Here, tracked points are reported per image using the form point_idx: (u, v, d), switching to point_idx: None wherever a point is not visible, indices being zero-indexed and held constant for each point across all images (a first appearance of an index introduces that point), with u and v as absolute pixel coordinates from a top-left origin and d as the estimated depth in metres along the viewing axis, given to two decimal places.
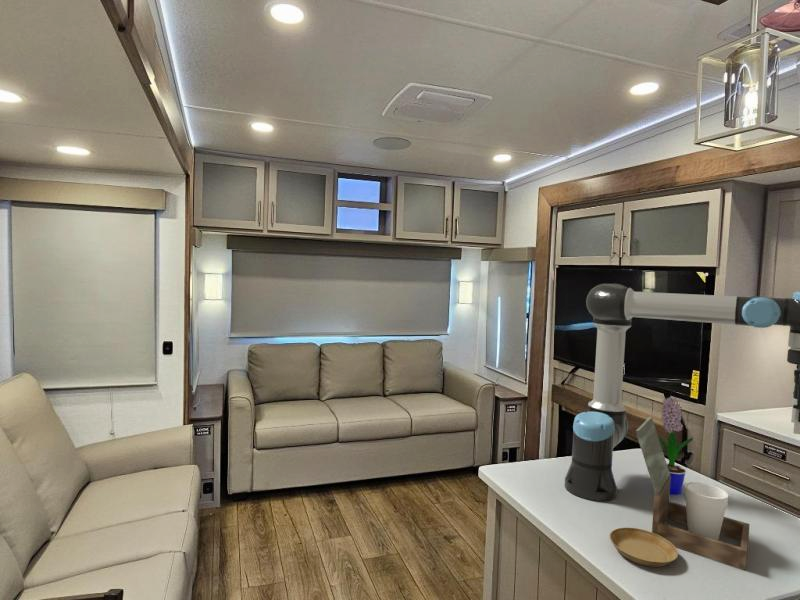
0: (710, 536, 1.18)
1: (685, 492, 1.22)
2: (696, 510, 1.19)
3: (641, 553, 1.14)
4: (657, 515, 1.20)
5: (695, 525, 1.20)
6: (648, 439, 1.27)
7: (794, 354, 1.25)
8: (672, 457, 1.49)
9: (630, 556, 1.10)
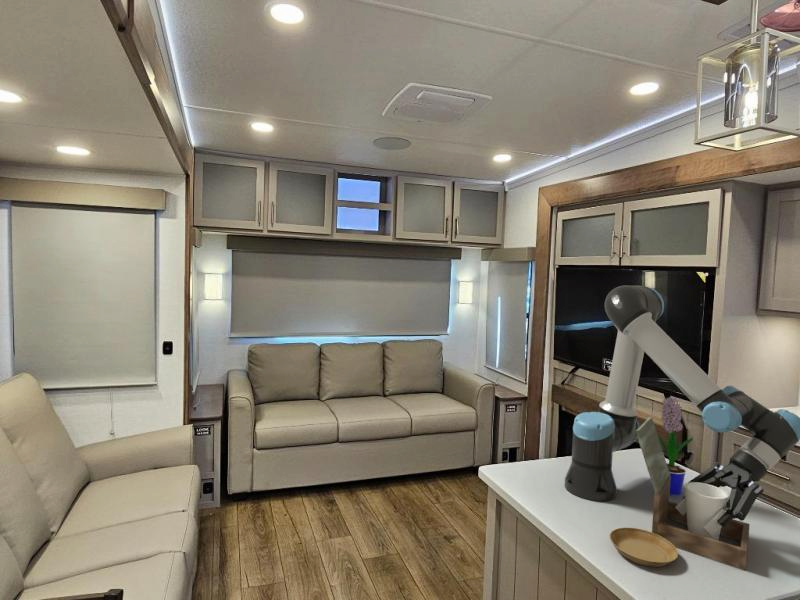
0: (710, 536, 1.18)
1: (685, 492, 1.22)
2: (696, 510, 1.19)
3: (641, 553, 1.14)
4: (657, 515, 1.20)
5: (695, 525, 1.20)
6: (648, 439, 1.27)
7: (754, 461, 1.19)
8: (672, 457, 1.49)
9: (630, 556, 1.10)
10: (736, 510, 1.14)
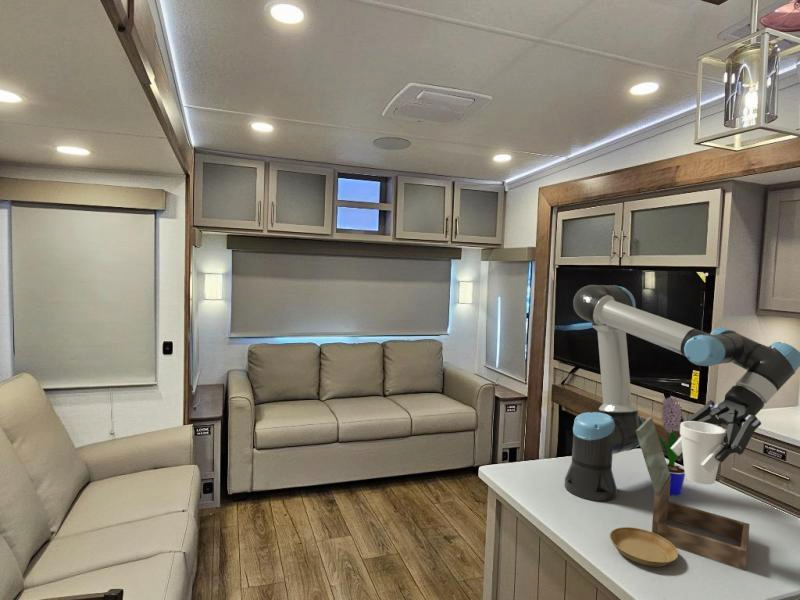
0: (708, 473, 1.14)
1: (681, 430, 1.18)
2: (693, 447, 1.15)
3: (641, 553, 1.14)
4: (657, 515, 1.20)
5: (692, 463, 1.15)
6: (648, 439, 1.27)
7: (750, 395, 1.15)
8: (672, 457, 1.49)
9: (631, 556, 1.10)
10: (734, 444, 1.10)
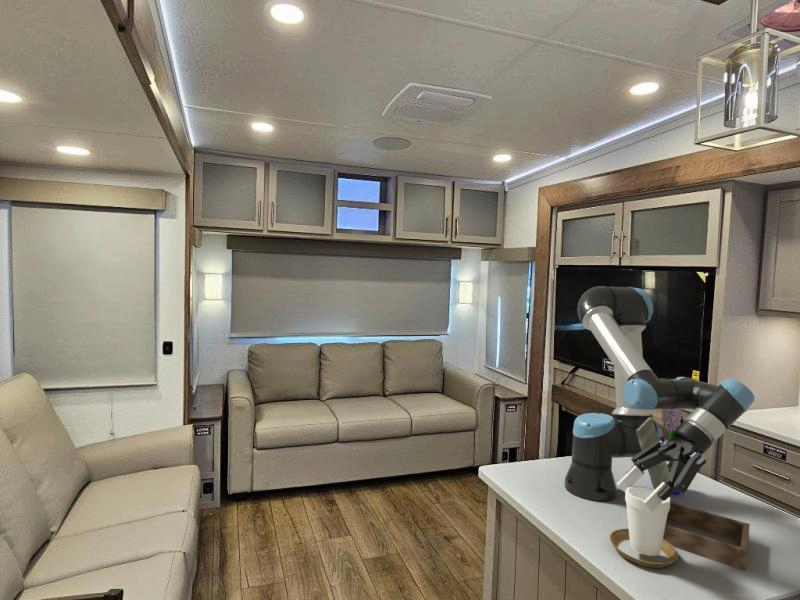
0: (651, 544, 1.09)
1: (626, 496, 1.14)
2: (636, 516, 1.10)
3: None
4: None
5: (636, 532, 1.11)
6: (648, 439, 1.27)
7: (697, 432, 1.11)
8: None
9: (632, 558, 1.10)
10: (677, 482, 1.05)
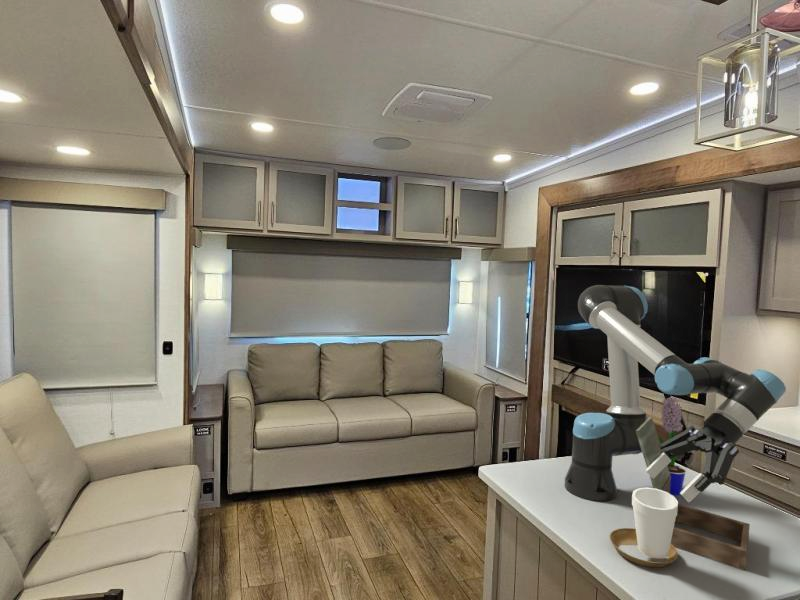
0: (660, 548, 1.08)
1: (633, 502, 1.11)
2: (645, 522, 1.08)
3: None
4: None
5: (644, 537, 1.09)
6: (648, 439, 1.27)
7: (728, 423, 1.11)
8: (672, 457, 1.49)
9: (631, 557, 1.10)
10: (714, 473, 1.05)
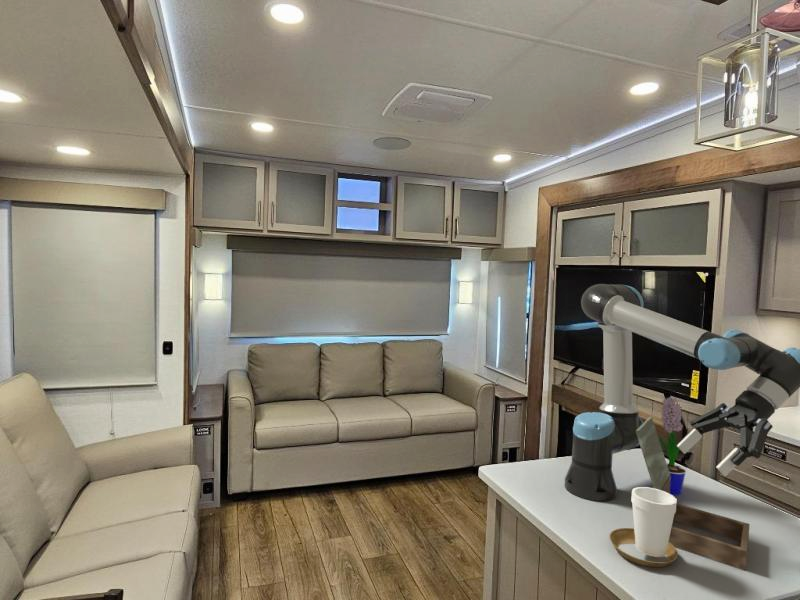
0: (658, 546, 1.09)
1: (632, 498, 1.13)
2: (644, 518, 1.10)
3: None
4: None
5: (643, 534, 1.10)
6: (648, 439, 1.27)
7: (760, 400, 1.14)
8: (672, 457, 1.49)
9: (631, 557, 1.10)
10: (751, 447, 1.07)
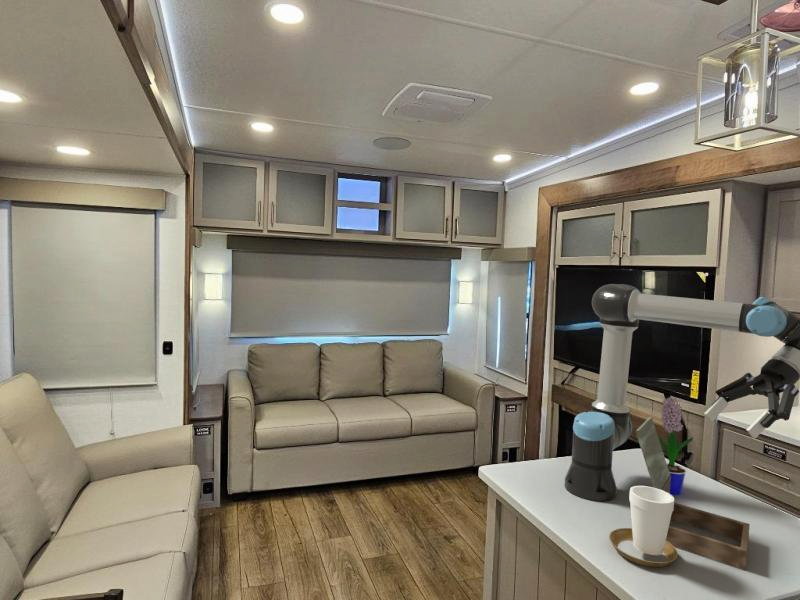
0: (656, 544, 1.10)
1: (630, 497, 1.13)
2: (642, 516, 1.10)
3: None
4: None
5: (641, 533, 1.11)
6: (648, 439, 1.27)
7: (786, 367, 1.19)
8: (672, 457, 1.49)
9: (631, 557, 1.10)
10: (780, 410, 1.12)
